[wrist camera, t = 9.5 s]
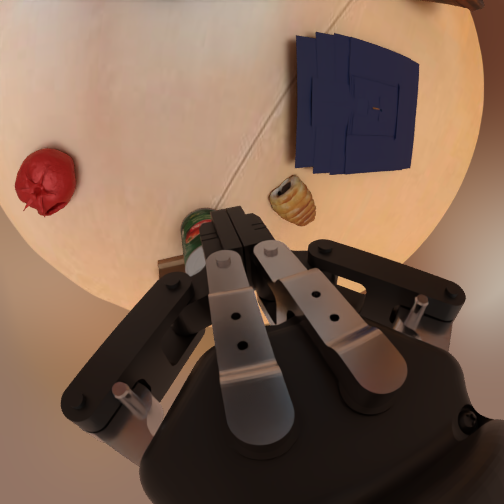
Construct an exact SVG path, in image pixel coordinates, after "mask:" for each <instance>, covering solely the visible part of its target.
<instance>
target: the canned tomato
mask: <svg viewBox="0 0 504 504" xmlns="http://www.w3.org/2000/svg"><path fill="white" fill-rule="evenodd" d="M211 211H216V210H214V209H210V208H201V209H198V210H195V211H193V212H191V213H190V214H189V215H187V217H186V218H185V219H184V221H183V223H182V226H181V238H182V246H183V255H184V263H185V272H186V273H187V274H188V275H189V276H192V275H195V274H196V273H198V272H200V271H201V270H202V269H203V268H204V266H205V264H206V261H205V257H204V253H203V248H202V243H201V238H200V233H199V228H200V226H201V224H202V223H206V222H211V216H210V212H211Z"/></svg>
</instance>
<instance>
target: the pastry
mask: <svg viewBox="0 0 504 504" xmlns="http://www.w3.org/2000/svg"><path fill="white" fill-rule="evenodd" d="M270 203H271V205H272V208H273V210H274V211H275V212H277V213H278V214H279V215H280V216H281V217H282V218H283V219H285V220H287V221H289V222H291V223H294V224H296V225H298V226H305V225H307V224H308V223H310V222H312V221H314V219H315V215H316V211H315V209H316V206H315V205H314V200H313V199H312V194H311V192H310V191H309V190H308V189H307V186H306V185H305V184H304V183H303V182H302V181H301V180H300V179H299V177H298V176H292V177H290V178H287V179H286V180H285V181H283V183H282V184H281V185H280V186H279V187H278V188H276V189H275V190H274V191H273V192H272V193H271V195H270Z"/></svg>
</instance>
